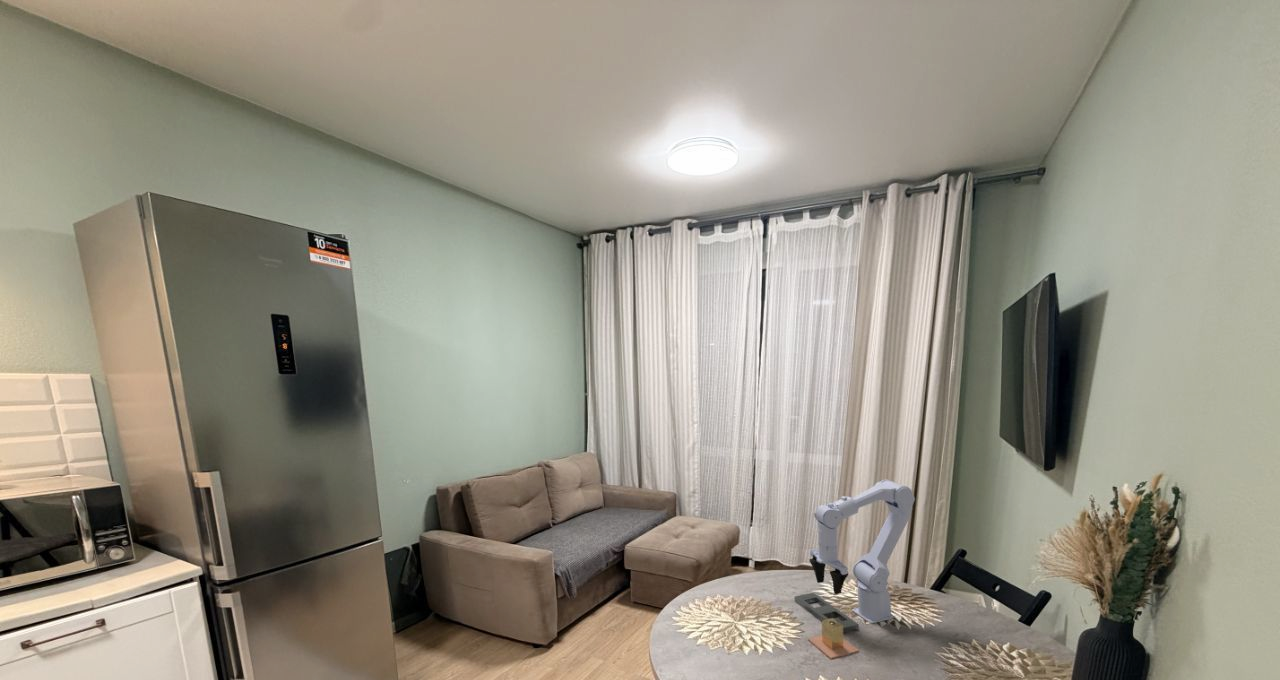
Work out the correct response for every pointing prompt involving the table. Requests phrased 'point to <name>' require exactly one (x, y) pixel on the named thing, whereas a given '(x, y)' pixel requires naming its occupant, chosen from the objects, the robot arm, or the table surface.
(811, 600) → the metal rail
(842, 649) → the terracotta mat
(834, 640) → the cube with round inset
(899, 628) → the table surface
